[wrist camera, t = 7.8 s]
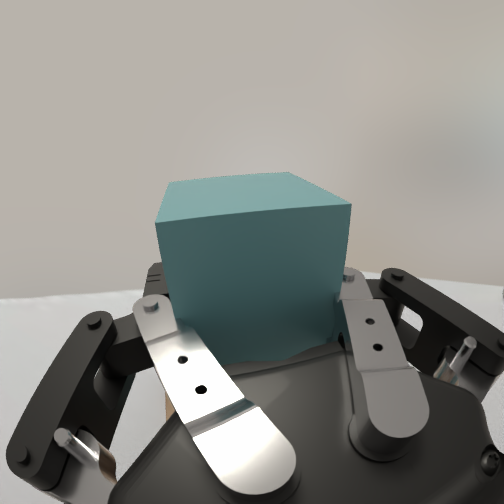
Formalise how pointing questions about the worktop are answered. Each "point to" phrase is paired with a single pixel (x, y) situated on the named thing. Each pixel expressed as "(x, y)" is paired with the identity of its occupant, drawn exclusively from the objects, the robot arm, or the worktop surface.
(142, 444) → the worktop surface
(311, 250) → the teal block
